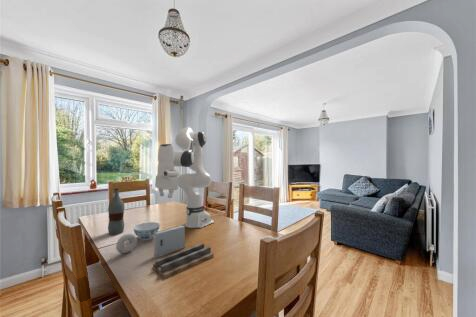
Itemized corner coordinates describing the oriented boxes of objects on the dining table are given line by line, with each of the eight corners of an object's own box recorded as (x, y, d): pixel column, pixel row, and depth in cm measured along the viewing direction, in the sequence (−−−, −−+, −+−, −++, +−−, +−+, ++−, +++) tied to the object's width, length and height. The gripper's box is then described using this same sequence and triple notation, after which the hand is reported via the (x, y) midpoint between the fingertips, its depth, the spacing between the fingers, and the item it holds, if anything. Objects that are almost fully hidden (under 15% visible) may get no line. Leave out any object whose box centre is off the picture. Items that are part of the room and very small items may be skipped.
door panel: (182, 246, 112) (182, 225, 112) (185, 247, 110) (185, 226, 110) (154, 256, 101) (154, 232, 101) (157, 258, 99) (157, 234, 99)
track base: (200, 248, 109) (200, 241, 109) (213, 256, 100) (213, 248, 101) (152, 267, 90) (152, 258, 90) (164, 278, 82) (164, 269, 82)
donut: (117, 257, 99) (117, 237, 99) (115, 255, 101) (115, 236, 101) (137, 250, 107) (137, 232, 107) (134, 248, 109) (135, 230, 109)
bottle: (123, 229, 138) (124, 187, 139) (124, 233, 131) (124, 188, 131) (108, 232, 133) (108, 188, 133) (107, 236, 126) (108, 189, 126)
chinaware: (149, 244, 114) (149, 231, 114) (127, 242, 117) (127, 229, 117) (164, 234, 129) (164, 223, 129) (144, 232, 132) (144, 221, 132)
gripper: (152, 172, 115) (152, 195, 114) (169, 173, 101) (169, 200, 100) (162, 171, 119) (162, 194, 119) (180, 172, 105) (180, 198, 105)
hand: (165, 197), depth 109 cm, fingers open, 8 cm apart
